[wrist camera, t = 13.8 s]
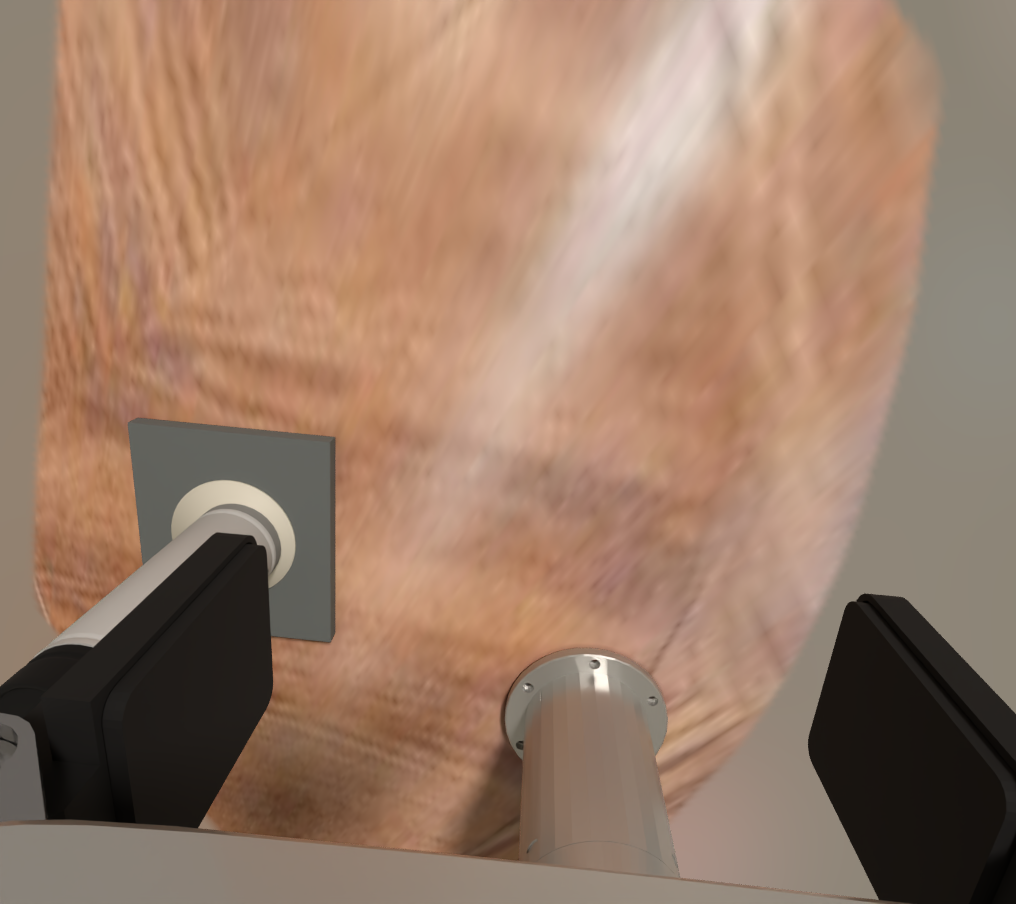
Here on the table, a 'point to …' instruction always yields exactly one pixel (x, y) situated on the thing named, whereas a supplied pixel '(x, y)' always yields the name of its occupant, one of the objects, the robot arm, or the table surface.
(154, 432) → the mat
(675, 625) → the table surface
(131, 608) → the travel mug
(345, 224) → the table surface
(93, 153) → the table surface
